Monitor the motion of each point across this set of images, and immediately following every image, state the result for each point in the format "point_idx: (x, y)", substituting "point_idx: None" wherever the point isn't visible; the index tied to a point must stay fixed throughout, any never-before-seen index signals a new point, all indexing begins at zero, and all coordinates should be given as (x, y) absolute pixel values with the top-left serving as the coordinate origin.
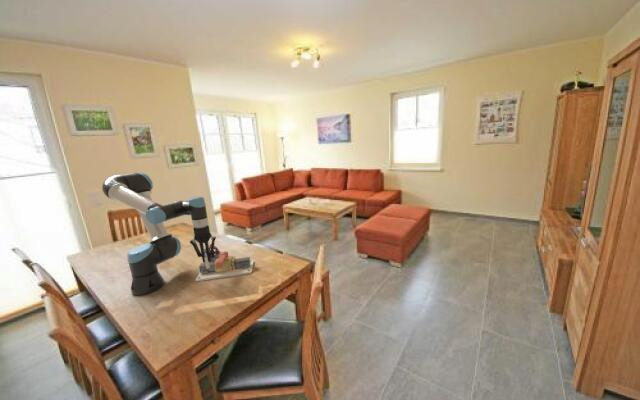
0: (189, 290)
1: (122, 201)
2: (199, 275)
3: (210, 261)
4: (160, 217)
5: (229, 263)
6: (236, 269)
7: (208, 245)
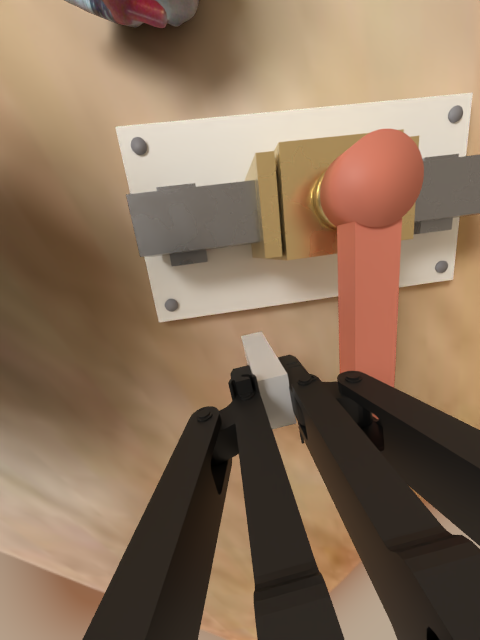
0: (173, 397)
1: None
2: (158, 273)
3: (133, 25)
4: None
5: None
6: None
7: (404, 496)
